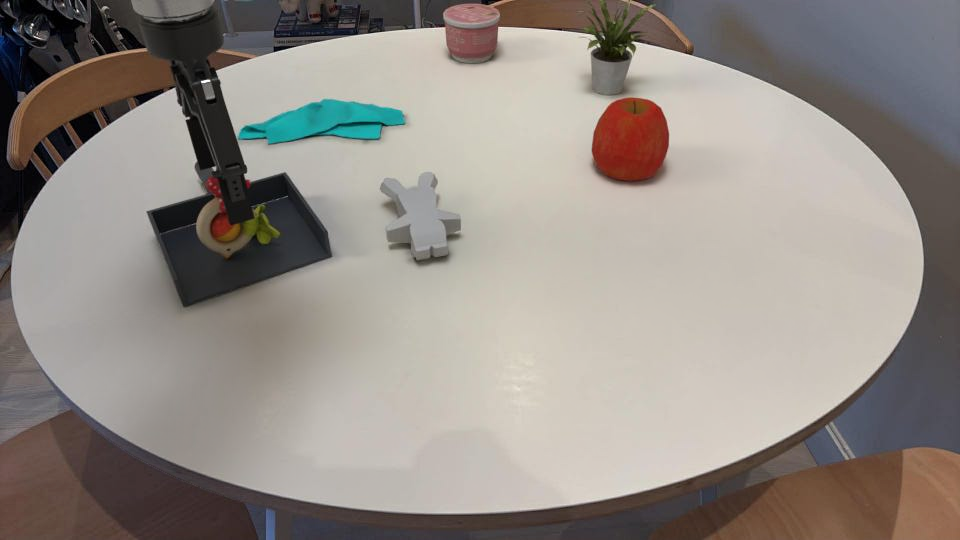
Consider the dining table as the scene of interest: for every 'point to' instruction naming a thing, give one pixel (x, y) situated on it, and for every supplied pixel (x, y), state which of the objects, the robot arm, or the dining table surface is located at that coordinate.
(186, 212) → the scoop
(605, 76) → the house plant
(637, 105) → the apple
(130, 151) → the dining table surface
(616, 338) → the dining table surface
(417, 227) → the bunny figurine
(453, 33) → the container
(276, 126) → the cloth
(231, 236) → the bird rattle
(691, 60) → the dining table surface
